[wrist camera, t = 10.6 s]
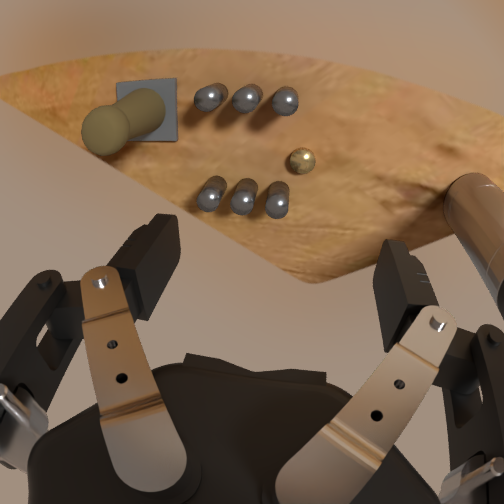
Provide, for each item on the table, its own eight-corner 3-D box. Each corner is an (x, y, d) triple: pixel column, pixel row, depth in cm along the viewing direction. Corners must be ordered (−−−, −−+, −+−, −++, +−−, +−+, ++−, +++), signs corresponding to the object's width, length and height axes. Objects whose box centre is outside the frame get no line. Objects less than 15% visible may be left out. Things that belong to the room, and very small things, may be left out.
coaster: (176, 77, 33) (174, 78, 33) (178, 139, 38) (176, 140, 38) (118, 82, 34) (116, 83, 34) (122, 139, 39) (120, 141, 38)
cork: (145, 142, 38) (101, 175, 29) (114, 112, 36) (63, 137, 27) (175, 110, 35) (134, 134, 26) (142, 78, 33) (92, 93, 24)
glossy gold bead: (311, 144, 37) (311, 147, 36) (317, 167, 38) (318, 170, 37) (287, 150, 37) (286, 153, 37) (294, 172, 39) (294, 176, 38)
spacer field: (298, 87, 33) (299, 92, 29) (288, 200, 41) (286, 219, 37) (206, 82, 33) (193, 87, 29) (207, 193, 42) (197, 211, 38)
